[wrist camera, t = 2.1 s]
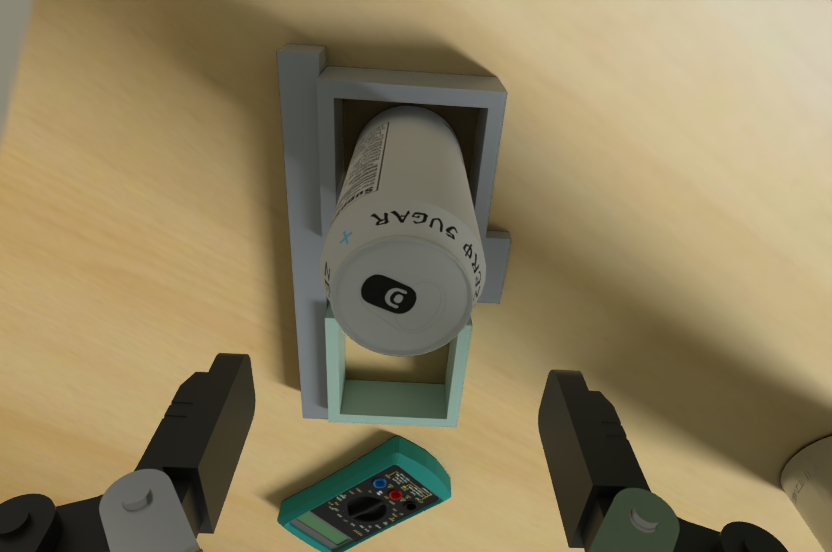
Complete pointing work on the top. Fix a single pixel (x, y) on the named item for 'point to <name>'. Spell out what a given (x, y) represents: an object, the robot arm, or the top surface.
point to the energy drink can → (404, 237)
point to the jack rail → (314, 209)
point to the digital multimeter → (366, 497)
